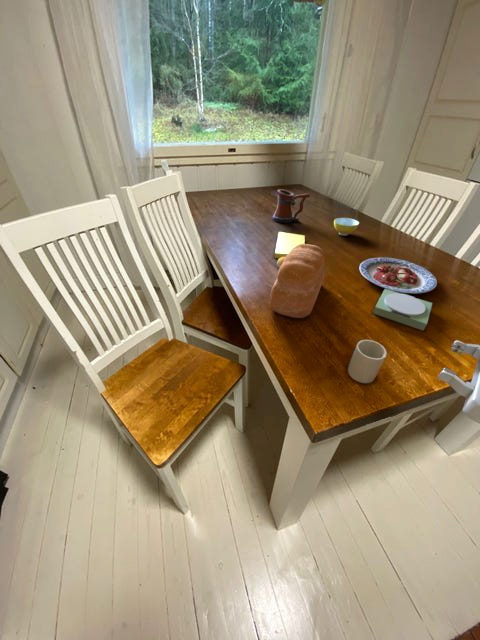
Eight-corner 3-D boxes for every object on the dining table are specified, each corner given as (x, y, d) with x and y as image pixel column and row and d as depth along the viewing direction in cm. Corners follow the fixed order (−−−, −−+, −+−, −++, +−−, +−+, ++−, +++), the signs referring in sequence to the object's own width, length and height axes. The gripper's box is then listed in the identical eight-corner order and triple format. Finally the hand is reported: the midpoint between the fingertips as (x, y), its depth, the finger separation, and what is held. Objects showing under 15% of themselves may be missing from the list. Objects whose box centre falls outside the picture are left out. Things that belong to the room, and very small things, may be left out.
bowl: (329, 229, 139) (331, 217, 135) (351, 230, 139) (355, 217, 135) (334, 238, 130) (337, 225, 126) (358, 238, 130) (362, 225, 126)
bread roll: (275, 262, 110) (275, 253, 107) (296, 262, 110) (298, 252, 108) (278, 272, 103) (279, 263, 101) (301, 272, 104) (303, 262, 101)
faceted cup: (377, 370, 66) (389, 346, 61) (371, 387, 62) (382, 363, 57) (352, 359, 69) (361, 336, 64) (344, 375, 65) (353, 351, 60)
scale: (428, 309, 86) (433, 301, 84) (423, 330, 78) (428, 322, 76) (382, 295, 92) (385, 287, 90) (372, 313, 84) (375, 305, 82)
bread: (265, 312, 84) (269, 267, 74) (288, 273, 103) (293, 234, 93) (308, 323, 80) (318, 278, 70) (324, 281, 98) (334, 241, 89)
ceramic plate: (358, 258, 113) (360, 251, 112) (427, 269, 107) (431, 262, 105) (357, 289, 94) (359, 282, 93) (440, 304, 88) (445, 297, 86)
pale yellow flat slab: (304, 260, 111) (303, 238, 130) (304, 255, 110) (304, 233, 128) (274, 257, 113) (278, 236, 131) (274, 253, 112) (278, 231, 130)
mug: (306, 218, 152) (310, 189, 143) (304, 225, 143) (309, 195, 134) (274, 215, 156) (276, 186, 146) (271, 222, 147) (273, 192, 137)
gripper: (529, 461, 38) (423, 403, 46) (536, 378, 50) (450, 342, 58) (563, 439, 34) (441, 379, 42) (561, 354, 46) (466, 319, 54)
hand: (446, 357), depth 50 cm, fingers open, 8 cm apart
